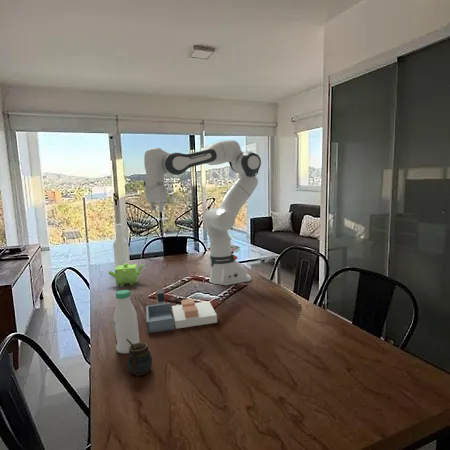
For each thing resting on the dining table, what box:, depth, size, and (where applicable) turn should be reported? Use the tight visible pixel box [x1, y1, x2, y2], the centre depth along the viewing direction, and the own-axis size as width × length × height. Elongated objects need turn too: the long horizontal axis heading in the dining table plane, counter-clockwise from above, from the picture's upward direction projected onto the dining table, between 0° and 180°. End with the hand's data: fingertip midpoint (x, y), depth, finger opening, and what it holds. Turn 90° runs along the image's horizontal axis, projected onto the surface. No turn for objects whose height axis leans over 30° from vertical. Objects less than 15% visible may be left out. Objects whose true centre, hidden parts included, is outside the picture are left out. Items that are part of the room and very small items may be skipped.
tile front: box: [183, 306, 198, 318], centre depth 136 cm, size 5×5×2 cm
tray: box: [145, 302, 175, 334], centre depth 138 cm, size 10×17×4 cm, turn 13°
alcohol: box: [112, 223, 131, 269], centre depth 217 cm, size 9×9×30 cm
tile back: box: [180, 298, 196, 310], centre depth 144 cm, size 5×5×2 cm
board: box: [171, 300, 218, 329], centre depth 141 cm, size 16×16×3 cm
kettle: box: [108, 263, 145, 287], centre depth 191 cm, size 15×14×11 cm
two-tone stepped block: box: [156, 288, 166, 304], centre depth 155 cm, size 3×14×7 cm, turn 13°
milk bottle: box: [113, 289, 141, 354], centre depth 117 cm, size 8×8×20 cm
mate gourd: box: [126, 339, 153, 377], centre depth 103 cm, size 7×8×10 cm
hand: (157, 210), depth 170 cm, fingers open, 8 cm apart
